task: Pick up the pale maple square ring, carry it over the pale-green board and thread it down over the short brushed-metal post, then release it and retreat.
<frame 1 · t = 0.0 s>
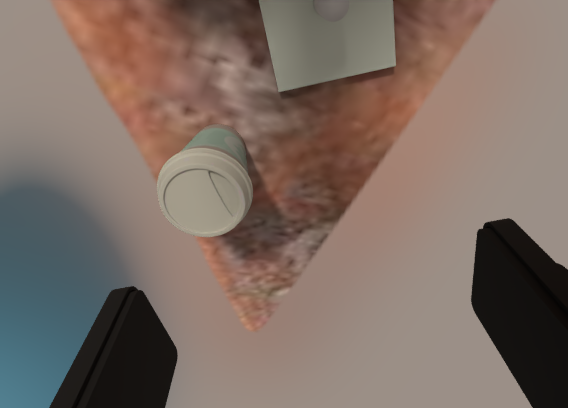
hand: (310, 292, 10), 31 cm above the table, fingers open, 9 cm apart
post block: (324, 1, 34), on the table
coffee cup: (220, 147, 41), on the table
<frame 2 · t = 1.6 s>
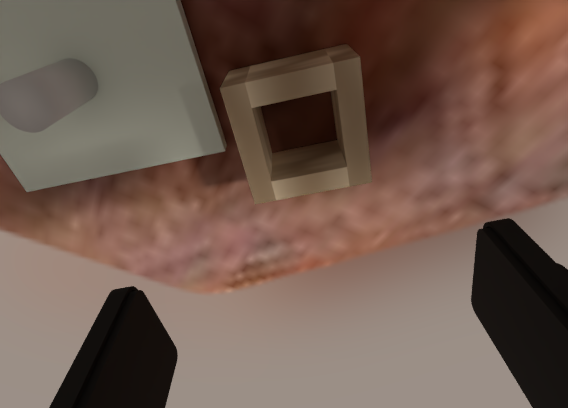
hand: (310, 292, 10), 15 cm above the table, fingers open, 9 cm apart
ring: (298, 114, 23), on the table
post block: (84, 76, 21), on the table
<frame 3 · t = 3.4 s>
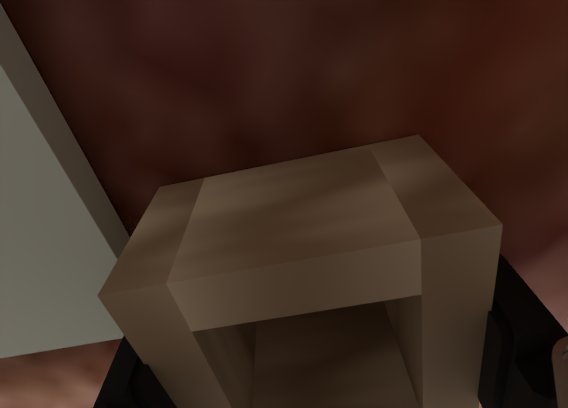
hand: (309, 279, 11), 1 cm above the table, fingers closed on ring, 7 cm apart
ring: (307, 260, 11), on the table, touching gripper
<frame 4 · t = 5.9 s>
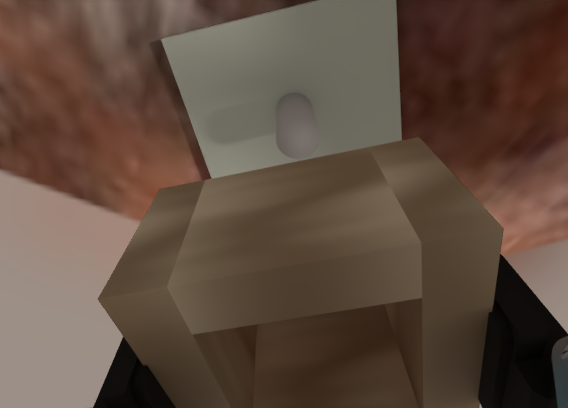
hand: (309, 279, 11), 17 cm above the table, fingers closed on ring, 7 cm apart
ring: (307, 262, 11), point 16 cm above the table, touching gripper
post block: (293, 106, 25), on the table
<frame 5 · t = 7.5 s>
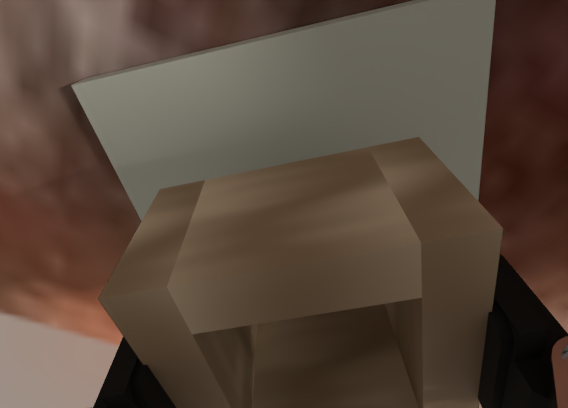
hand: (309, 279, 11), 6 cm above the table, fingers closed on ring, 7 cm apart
ring: (307, 262, 11), point 5 cm above the table, touching gripper
post block: (303, 183, 15), on the table
when the fingers open (4 cm above the table, at t = 8.7 s): ring drops 2 cm, resting on post block.
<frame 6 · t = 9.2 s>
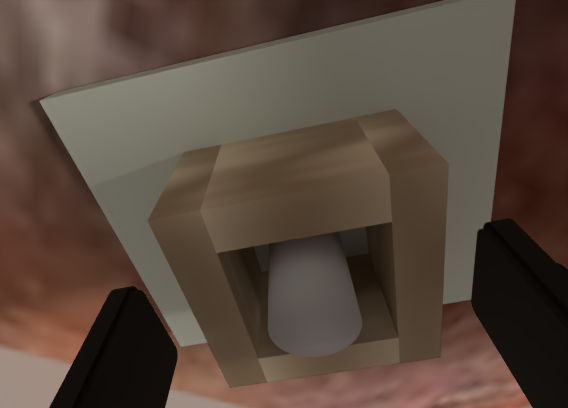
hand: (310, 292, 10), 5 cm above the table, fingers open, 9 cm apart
ring: (305, 218, 13), point 1 cm above the table, touching post block
post block: (300, 203, 14), on the table
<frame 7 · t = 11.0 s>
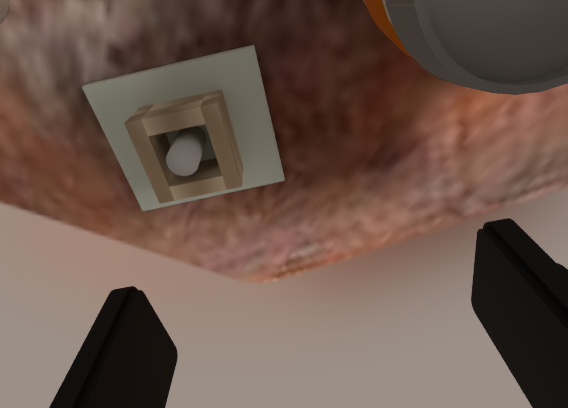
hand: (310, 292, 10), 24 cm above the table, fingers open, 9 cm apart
ring: (194, 138, 31), point 1 cm above the table, touching post block
post block: (194, 133, 32), on the table
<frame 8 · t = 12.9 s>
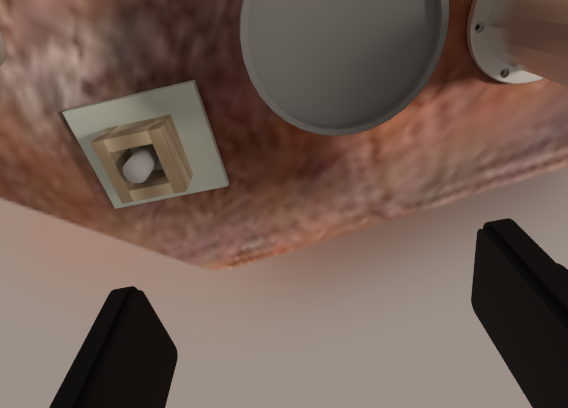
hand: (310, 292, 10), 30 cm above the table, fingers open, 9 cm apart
ring: (151, 151, 39), point 1 cm above the table, touching post block
post block: (153, 147, 40), on the table
reusable coffee cup: (316, 16, 34), on the table
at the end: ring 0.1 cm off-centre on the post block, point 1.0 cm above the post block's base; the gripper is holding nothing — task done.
